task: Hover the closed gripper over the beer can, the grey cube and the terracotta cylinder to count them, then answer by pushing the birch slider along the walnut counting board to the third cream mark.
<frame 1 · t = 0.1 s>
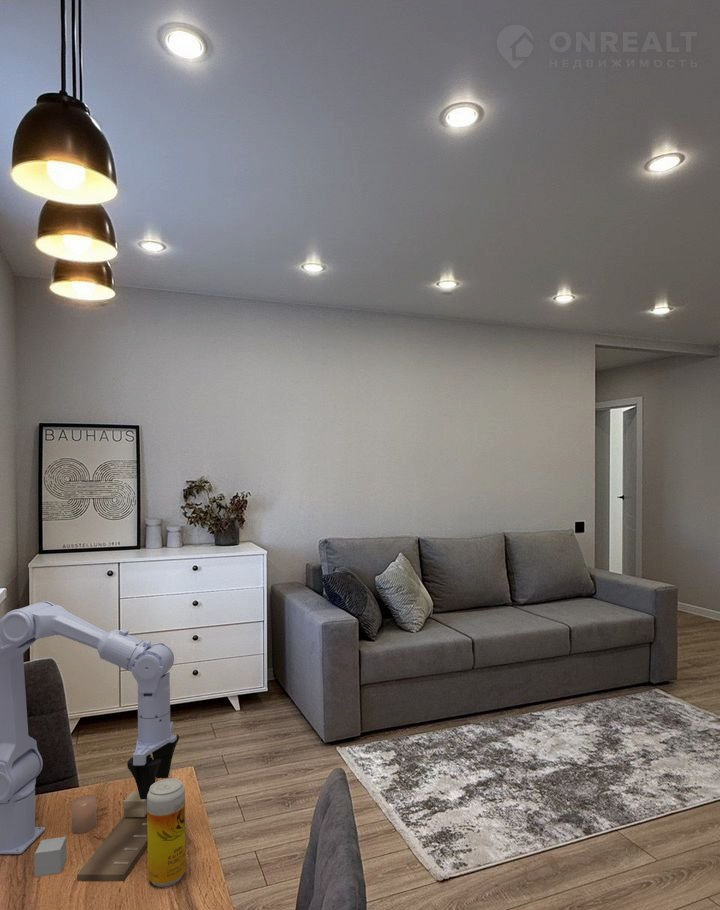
hand: (154, 787, 113), 10 cm above the table, tool pointing down, fingers open, 7 cm apart
grey cube: (50, 868, 106), on the table
beer can: (167, 878, 102), on the table
counting board: (128, 842, 113), on the table
birch slider: (142, 803, 121), point 3 cm above the table, slide at 0.0 cm
terracotta cylinder: (84, 827, 118), on the table
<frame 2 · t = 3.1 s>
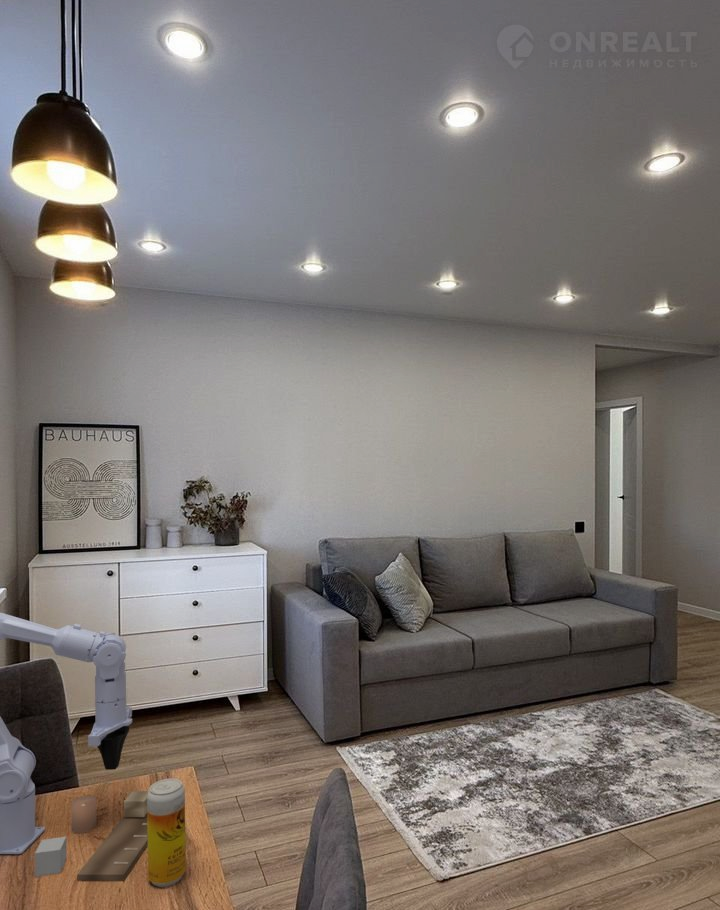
hand: (111, 768, 120), 10 cm above the table, tool pointing down, fingers closed
nothing on the table moved.
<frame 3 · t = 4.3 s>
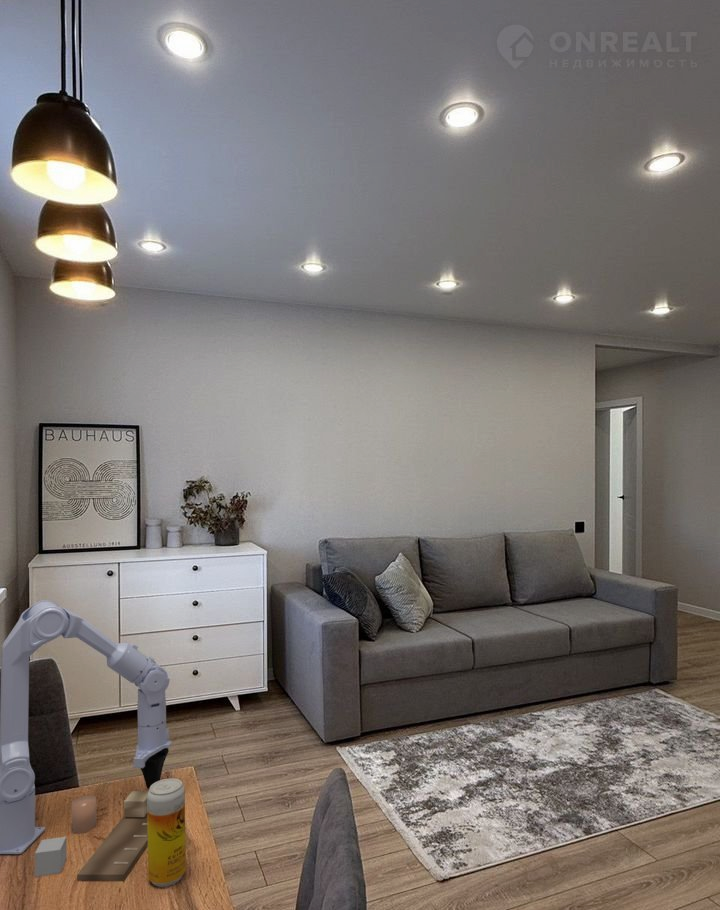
hand: (153, 787, 129), 2 cm above the table, tool pointing down, fingers closed
nothing on the table moved.
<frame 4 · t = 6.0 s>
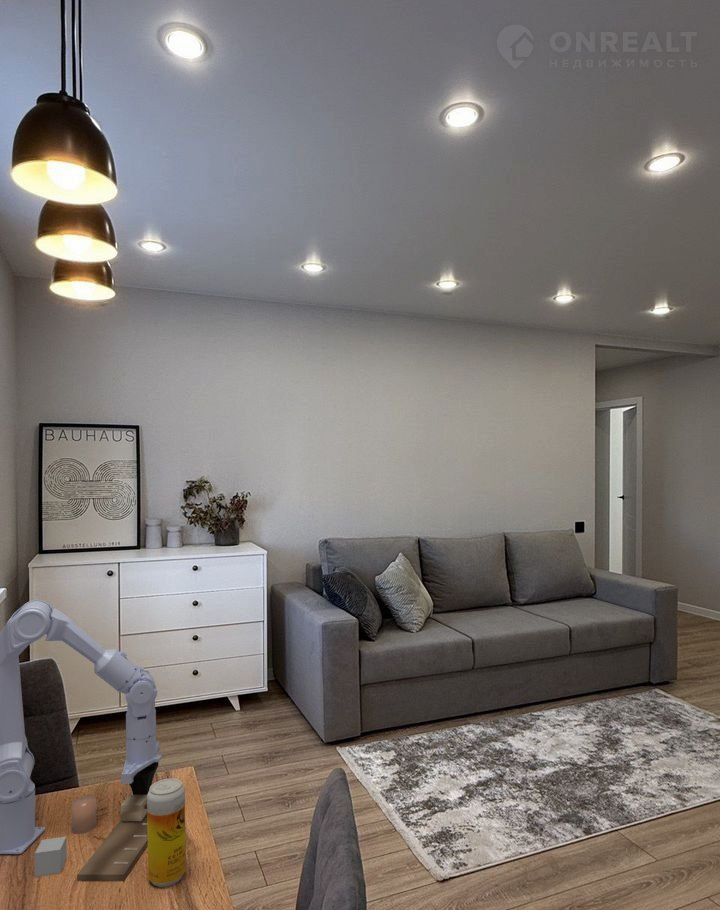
hand: (141, 803, 123), 2 cm above the table, tool pointing down, fingers closed
birch slider: (139, 807, 120), point 3 cm above the table, slide at 1.4 cm, touching gripper
everything else where it was.
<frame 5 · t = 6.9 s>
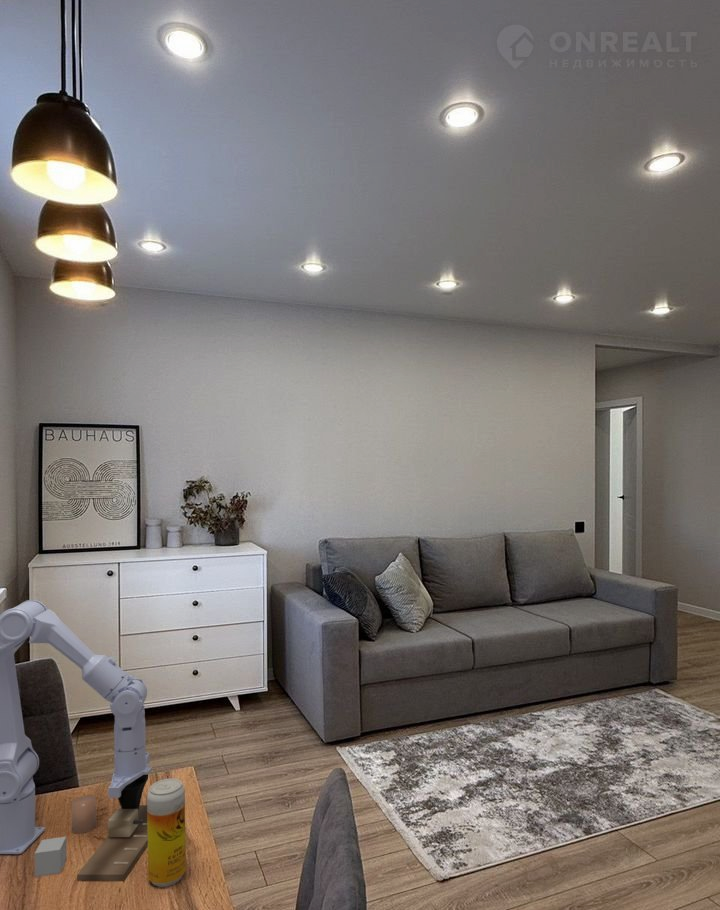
hand: (130, 817, 118), 2 cm above the table, tool pointing down, fingers closed
birch slider: (127, 822, 114), point 3 cm above the table, slide at 6.7 cm, touching gripper
everything else where it was.
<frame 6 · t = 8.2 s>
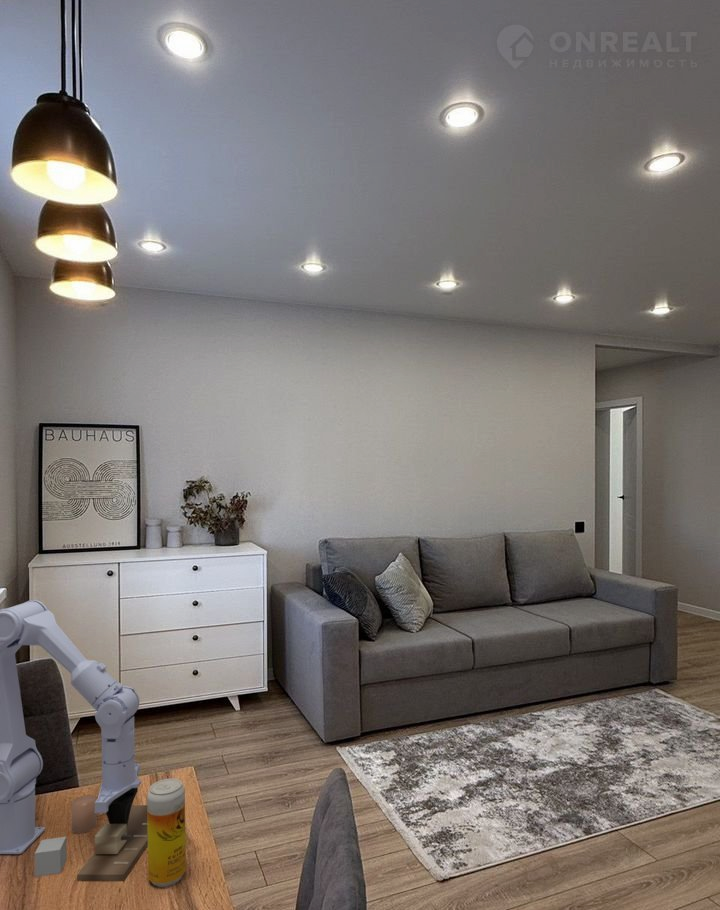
hand: (119, 832, 112), 2 cm above the table, tool pointing down, fingers closed
birch slider: (115, 838, 109), point 3 cm above the table, slide at 11.8 cm, touching gripper
everything else where it was.
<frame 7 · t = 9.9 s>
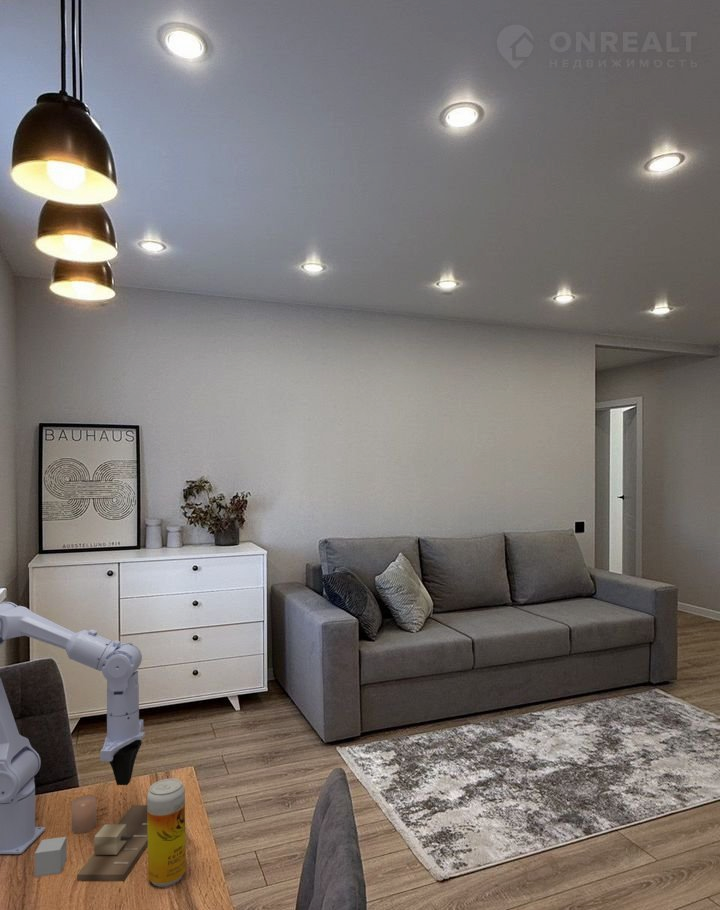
hand: (123, 783, 116), 9 cm above the table, tool pointing down, fingers closed
birch slider: (115, 839, 109), point 3 cm above the table, slide at 12.0 cm
everything else where it was.
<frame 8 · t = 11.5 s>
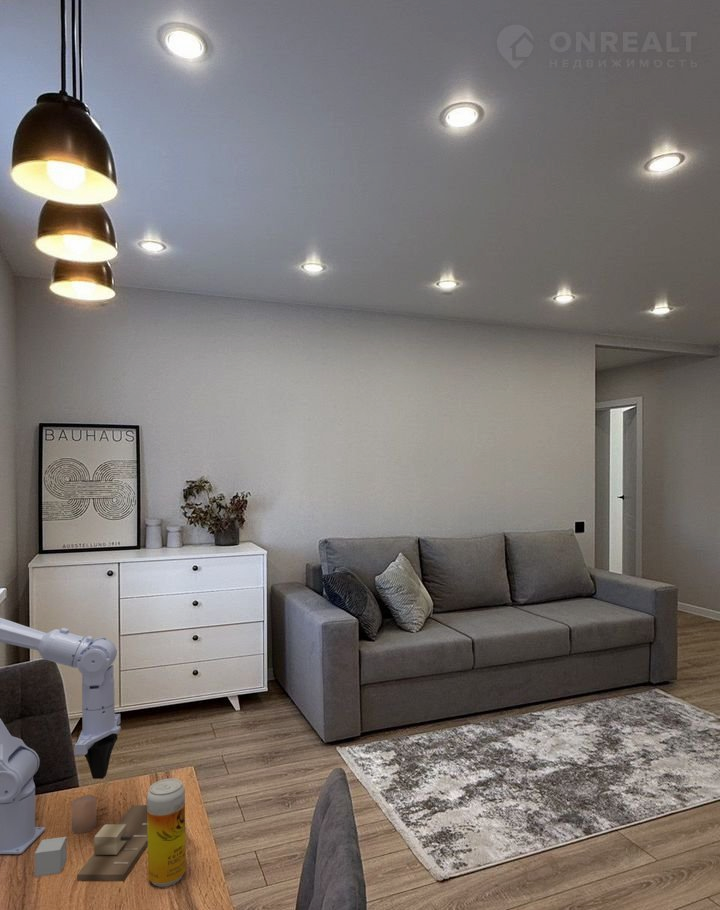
hand: (99, 777, 117), 10 cm above the table, tool pointing down, fingers closed
nothing on the table moved.
at the end: birch slider slide at 12.0 cm; beer can moved 0.2 cm from its start; grey cube moved 0.1 cm from its start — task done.
